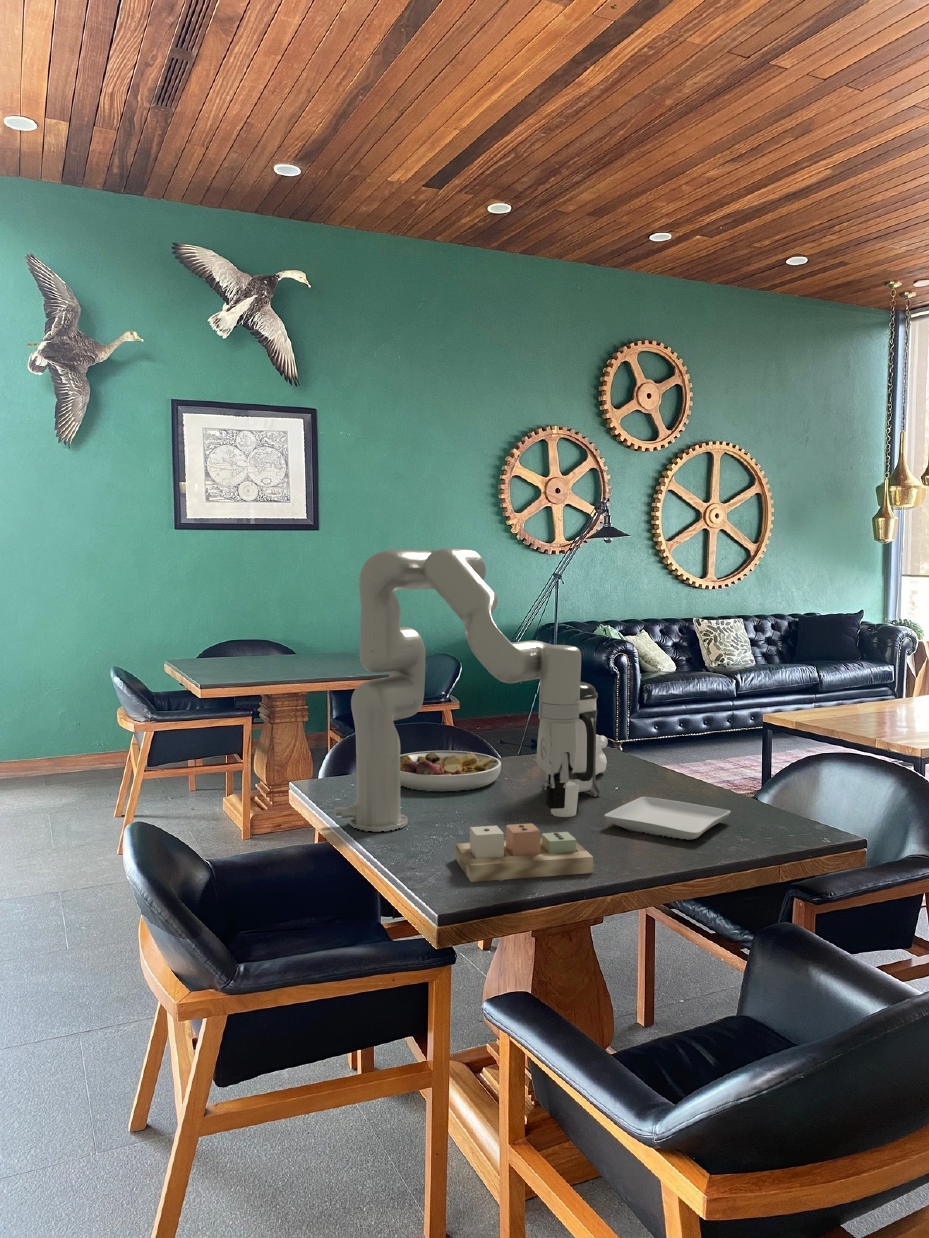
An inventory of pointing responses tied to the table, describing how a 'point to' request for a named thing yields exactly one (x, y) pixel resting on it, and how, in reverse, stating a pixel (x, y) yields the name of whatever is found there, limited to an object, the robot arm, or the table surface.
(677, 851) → the table surface
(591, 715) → the coffee press
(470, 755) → the bowl
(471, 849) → the white dice block
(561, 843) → the green dice block
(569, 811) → the shot glass
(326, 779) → the table surface
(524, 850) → the tan dice block
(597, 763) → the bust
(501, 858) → the wooden dice block tray
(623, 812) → the salad plate
